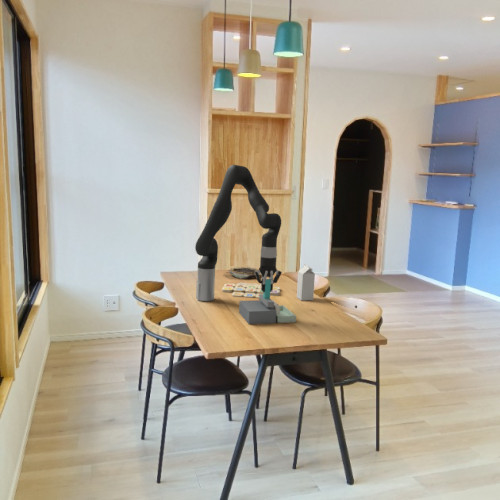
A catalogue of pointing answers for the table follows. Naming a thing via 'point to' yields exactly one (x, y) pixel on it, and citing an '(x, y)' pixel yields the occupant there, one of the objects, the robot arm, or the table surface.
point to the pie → (243, 272)
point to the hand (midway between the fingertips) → (266, 291)
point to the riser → (257, 312)
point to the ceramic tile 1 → (277, 308)
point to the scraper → (266, 295)
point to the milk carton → (305, 283)
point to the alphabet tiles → (247, 290)
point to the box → (285, 315)
